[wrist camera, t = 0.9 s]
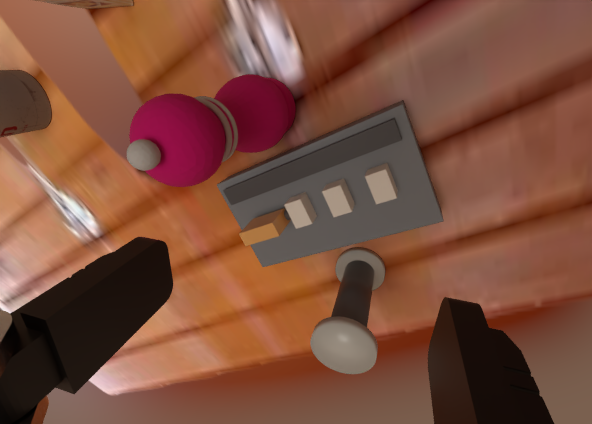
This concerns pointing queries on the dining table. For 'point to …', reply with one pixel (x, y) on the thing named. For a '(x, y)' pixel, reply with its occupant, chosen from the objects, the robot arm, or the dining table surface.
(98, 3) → the coffeecake box
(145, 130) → the pepper mill
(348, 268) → the grey-capped dumbbell
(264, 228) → the main breaker lever
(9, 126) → the thermos bottle
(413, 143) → the breaker panel
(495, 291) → the dining table surface
